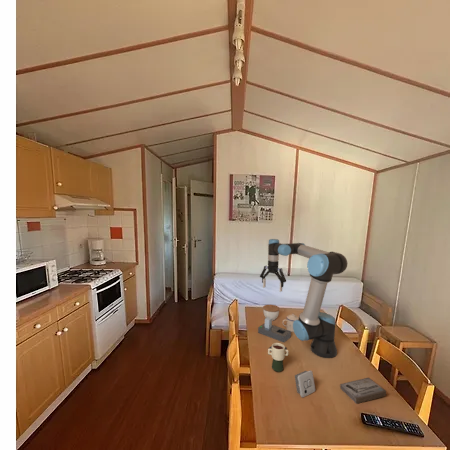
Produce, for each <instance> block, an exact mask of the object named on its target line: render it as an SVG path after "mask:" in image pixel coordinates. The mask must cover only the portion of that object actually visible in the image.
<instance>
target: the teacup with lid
mask: <svg viewBox="0 0 450 450" xmlns="http://www.w3.org/2000/svg"><path fill="white" fill-rule="evenodd" d="M298 319H299V316H298V315H295V313H291V314H288V315H286V318H285V319H282V325H283V327H286V328H285V329H286V330H289V331H291V333H294V330H293V322H294V321H295V320H298ZM285 321H286V324H284V322H285Z"/></svg>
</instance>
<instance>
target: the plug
mask: <svg viewBox="0 0 450 450" xmlns="http://www.w3.org/2000/svg"><path fill="white" fill-rule="evenodd" d="M272 321H273V320H272V319H271V318H268V317H267V318H266V317H265V318H264V323H265V328H267V329H270V328H271V327H272V325H273V323H272Z"/></svg>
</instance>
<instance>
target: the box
mask: <svg viewBox="0 0 450 450" xmlns="http://www.w3.org/2000/svg"><path fill="white" fill-rule="evenodd" d="M339 386H340V390H341V391H342V392H343V393H345V394H346V395H347V397H348V398H350V399H351V400H352V402H354V403H355V404H356V405H358V404H361V403H364V402H368V401H372V400H375V399H379V398H383V397H386V396H387V390H386V389H384V388H383V387H382V386H380V385H379V384H378V383H376V382H375V380H373V379H371V378H370V377H364V378H360V379H357V380H351V381H347V382H344V383H340V385H339Z"/></svg>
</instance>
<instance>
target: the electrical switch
mask: <svg viewBox="0 0 450 450" xmlns="http://www.w3.org/2000/svg"><path fill="white" fill-rule="evenodd" d="M313 373H314V372H313V371H312V370H308V371H307V370H304V371H302V372H299V373H296V374H294V380H295V386H296V392H297V393H298V394H299V395H300V397H301V398H305V397H307V396H309V395H311V394H312V393H315V392H316V384H315V379H314V374H313Z"/></svg>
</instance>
